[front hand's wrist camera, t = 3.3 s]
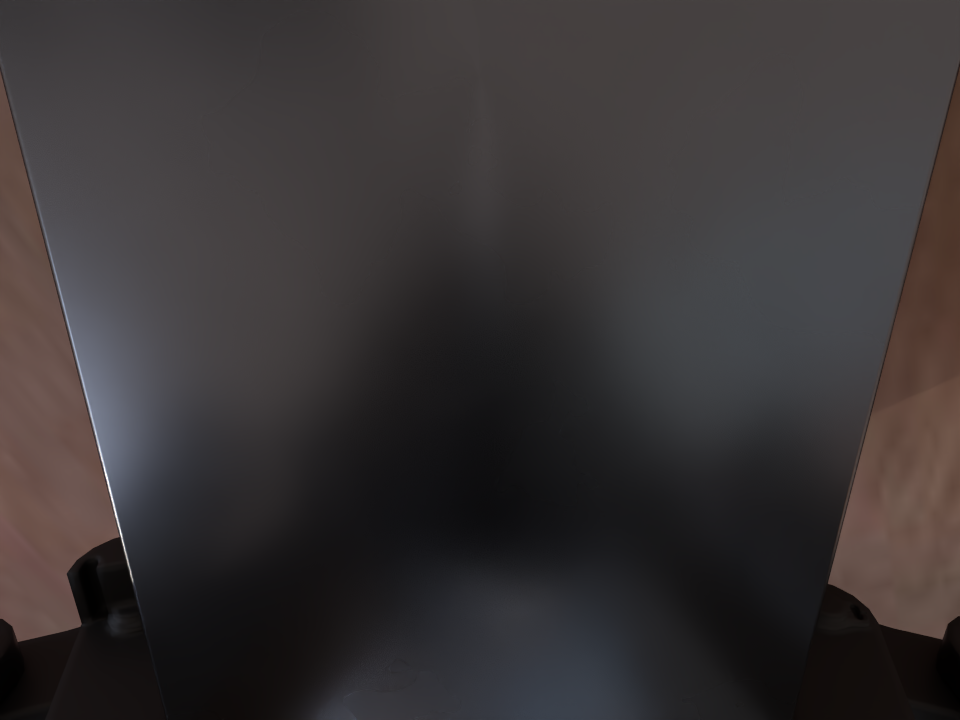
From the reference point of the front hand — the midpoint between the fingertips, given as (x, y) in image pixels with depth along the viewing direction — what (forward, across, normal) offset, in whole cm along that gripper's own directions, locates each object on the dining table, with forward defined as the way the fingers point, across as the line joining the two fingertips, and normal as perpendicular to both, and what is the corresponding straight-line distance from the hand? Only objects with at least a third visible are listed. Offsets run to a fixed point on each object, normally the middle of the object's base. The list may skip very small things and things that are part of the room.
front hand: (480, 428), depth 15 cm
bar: (0, 0, -7) cm, 7 cm away
